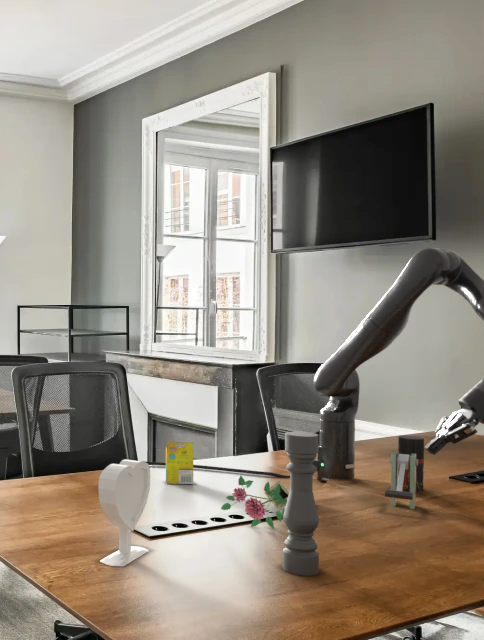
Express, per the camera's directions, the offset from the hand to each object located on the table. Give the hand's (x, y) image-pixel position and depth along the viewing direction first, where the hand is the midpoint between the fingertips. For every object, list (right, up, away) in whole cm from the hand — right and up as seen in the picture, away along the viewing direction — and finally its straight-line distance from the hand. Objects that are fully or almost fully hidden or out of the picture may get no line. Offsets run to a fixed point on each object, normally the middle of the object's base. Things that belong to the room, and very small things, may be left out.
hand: (428, 451), depth 167 cm
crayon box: (-47, -16, +39) cm, 63 cm away
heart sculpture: (-73, -16, -24) cm, 78 cm away
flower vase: (-34, -16, +1) cm, 38 cm away
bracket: (0, -16, +11) cm, 20 cm away
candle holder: (-42, -16, -31) cm, 55 cm away
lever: (-3, -8, +7) cm, 11 cm away
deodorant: (+12, -17, +28) cm, 35 cm away
